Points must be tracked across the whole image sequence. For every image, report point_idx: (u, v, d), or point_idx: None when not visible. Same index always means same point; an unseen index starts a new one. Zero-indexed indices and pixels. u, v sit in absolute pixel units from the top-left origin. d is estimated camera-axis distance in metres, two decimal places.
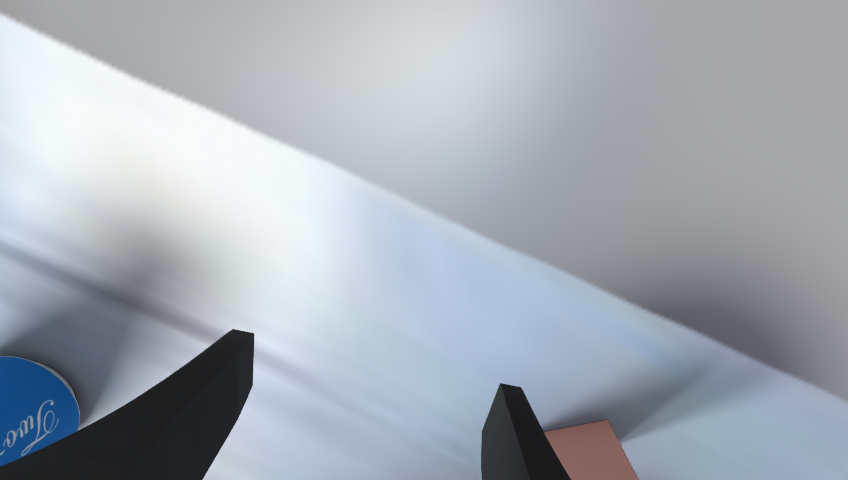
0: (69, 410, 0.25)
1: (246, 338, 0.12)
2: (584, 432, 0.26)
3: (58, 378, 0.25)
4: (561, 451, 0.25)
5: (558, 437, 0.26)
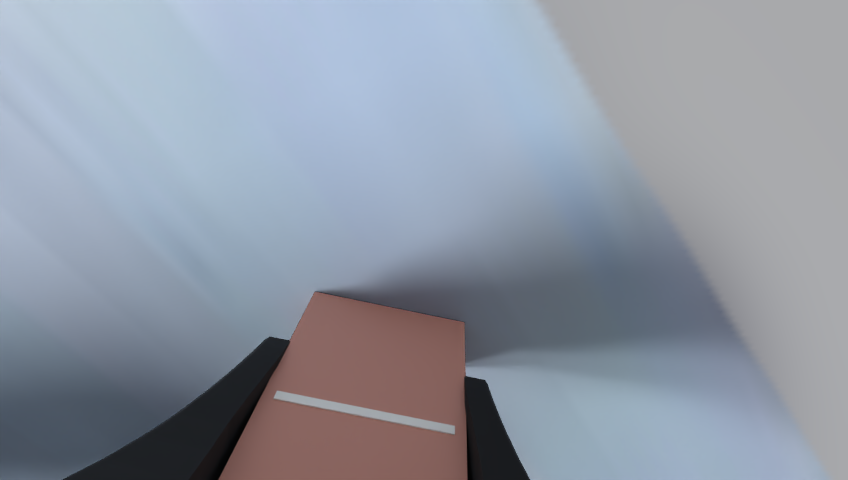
0: None
1: (284, 346, 0.12)
2: (417, 324, 0.14)
3: None
4: (362, 334, 0.13)
5: (372, 315, 0.14)
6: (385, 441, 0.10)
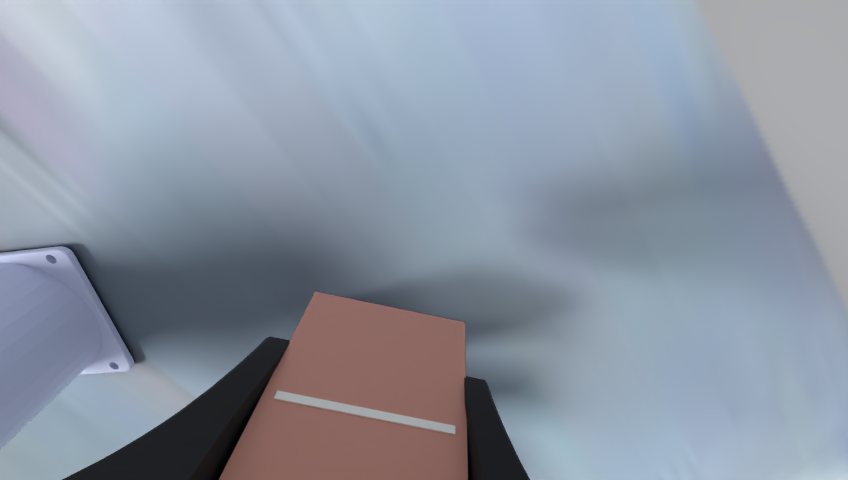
0: None
1: (284, 346, 0.12)
2: (418, 324, 0.14)
3: None
4: (363, 334, 0.13)
5: (373, 314, 0.14)
6: (385, 441, 0.10)
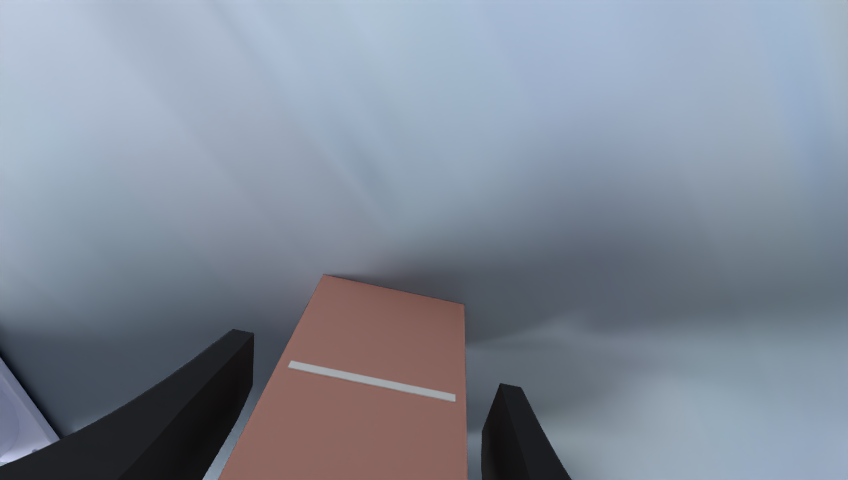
0: None
1: (246, 338, 0.12)
2: (420, 305, 0.15)
3: None
4: (369, 313, 0.14)
5: (377, 296, 0.15)
6: (391, 406, 0.11)
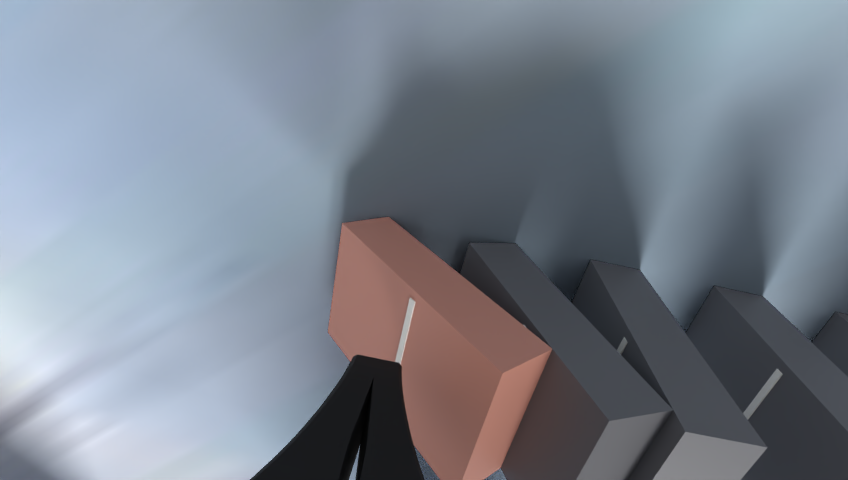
0: None
1: (374, 364, 0.12)
2: (345, 267, 0.16)
3: None
4: (353, 318, 0.16)
5: (340, 299, 0.17)
6: (416, 354, 0.14)
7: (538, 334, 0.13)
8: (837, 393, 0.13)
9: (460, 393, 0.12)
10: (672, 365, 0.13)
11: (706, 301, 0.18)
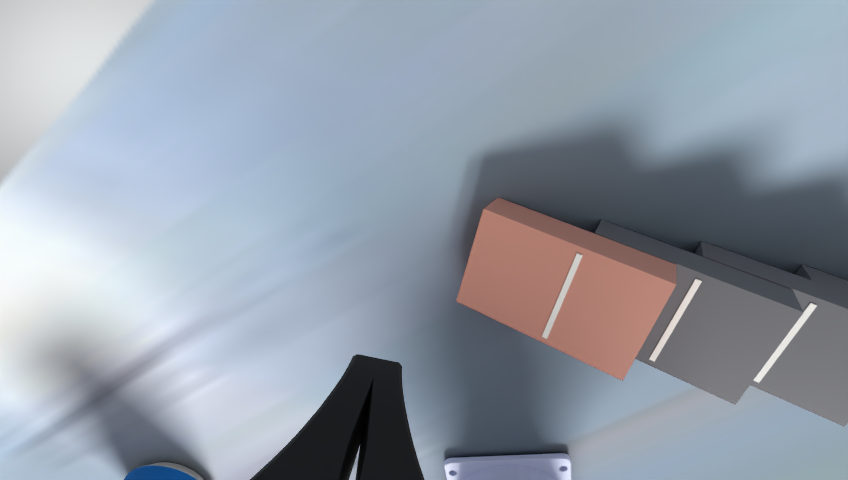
0: (171, 476, 0.31)
1: (374, 364, 0.12)
2: (486, 244, 0.20)
3: (149, 465, 0.31)
4: (497, 282, 0.21)
5: (478, 271, 0.21)
6: (581, 293, 0.19)
7: (717, 280, 0.18)
8: None
9: (631, 308, 0.18)
10: (847, 302, 0.19)
11: None
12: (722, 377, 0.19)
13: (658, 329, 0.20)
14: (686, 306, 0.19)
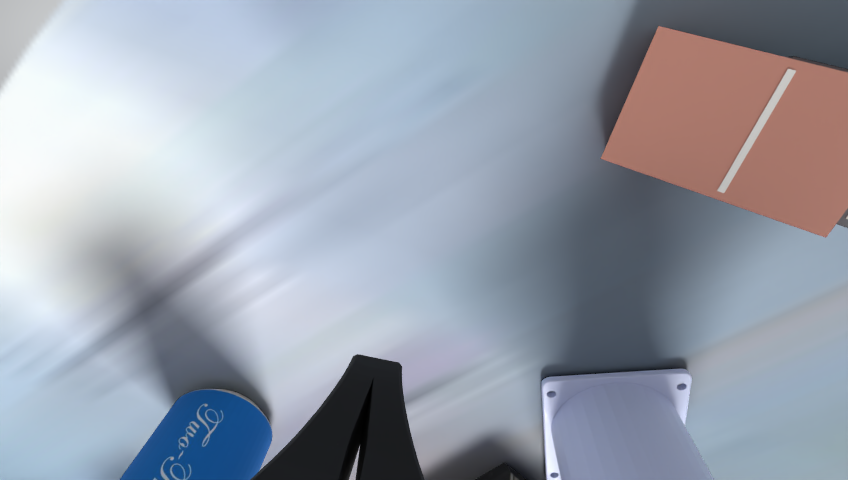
0: (227, 400, 0.27)
1: (374, 364, 0.12)
2: (656, 74, 0.17)
3: (202, 389, 0.27)
4: (663, 125, 0.17)
5: (637, 113, 0.17)
6: (785, 124, 0.15)
7: None
8: None
9: None
10: None
11: None
12: None
13: None
14: None
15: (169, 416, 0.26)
